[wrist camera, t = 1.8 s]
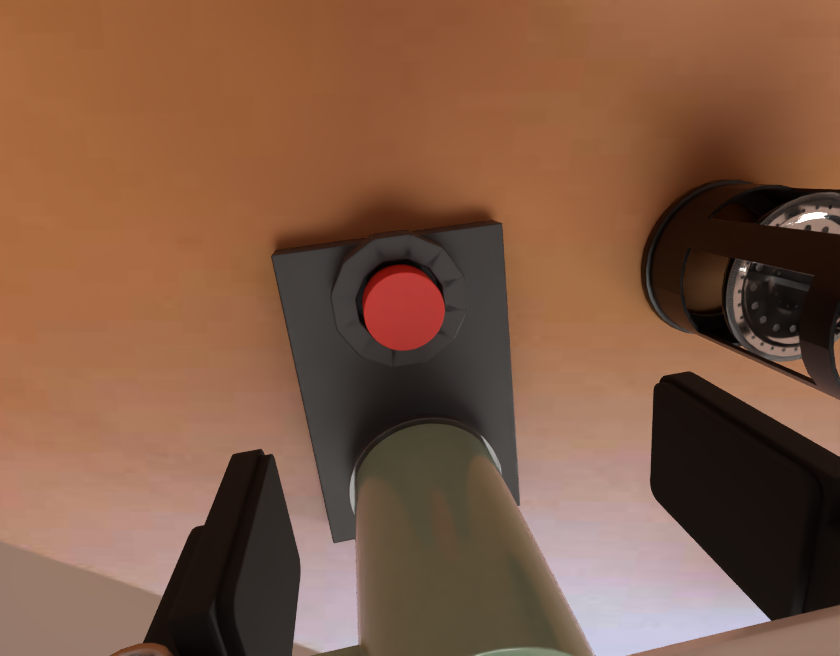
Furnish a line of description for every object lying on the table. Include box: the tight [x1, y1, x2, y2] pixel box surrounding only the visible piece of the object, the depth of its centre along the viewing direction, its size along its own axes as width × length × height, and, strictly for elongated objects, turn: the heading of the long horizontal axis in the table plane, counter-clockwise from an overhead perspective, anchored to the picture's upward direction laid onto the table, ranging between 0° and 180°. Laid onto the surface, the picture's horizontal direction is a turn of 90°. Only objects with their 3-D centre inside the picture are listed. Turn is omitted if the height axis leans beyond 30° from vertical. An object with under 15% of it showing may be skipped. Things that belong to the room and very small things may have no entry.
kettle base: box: [271, 220, 520, 543], centre depth 28 cm, size 18×12×4 cm, turn 7°
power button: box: [362, 264, 445, 350], centre depth 24 cm, size 4×4×2 cm
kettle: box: [312, 413, 595, 656], centre depth 20 cm, size 11×10×16 cm
